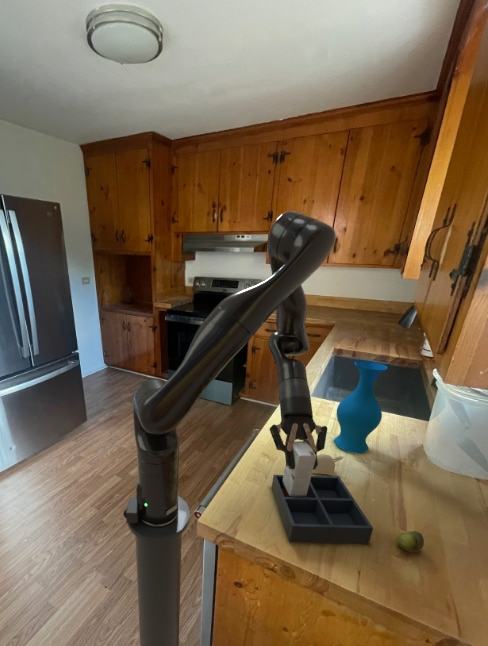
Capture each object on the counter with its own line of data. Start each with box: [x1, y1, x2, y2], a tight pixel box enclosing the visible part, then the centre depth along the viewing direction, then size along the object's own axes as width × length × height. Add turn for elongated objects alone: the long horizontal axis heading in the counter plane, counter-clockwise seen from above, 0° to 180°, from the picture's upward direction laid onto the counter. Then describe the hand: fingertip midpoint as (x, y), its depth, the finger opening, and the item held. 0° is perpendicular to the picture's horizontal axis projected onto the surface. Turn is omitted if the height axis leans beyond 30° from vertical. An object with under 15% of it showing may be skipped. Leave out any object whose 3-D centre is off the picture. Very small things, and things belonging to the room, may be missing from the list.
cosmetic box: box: [282, 440, 316, 497], centre depth 79 cm, size 6×4×12 cm
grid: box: [270, 474, 374, 545], centre depth 78 cm, size 17×17×5 cm
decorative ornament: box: [312, 453, 344, 476], centre depth 93 cm, size 4×8×5 cm, turn 76°
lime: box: [395, 530, 425, 553], centre depth 69 cm, size 4×5×5 cm
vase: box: [333, 359, 389, 454], centre depth 102 cm, size 12×13×28 cm
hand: (302, 468), depth 77 cm, fingers closed on cosmetic box, 4 cm apart
